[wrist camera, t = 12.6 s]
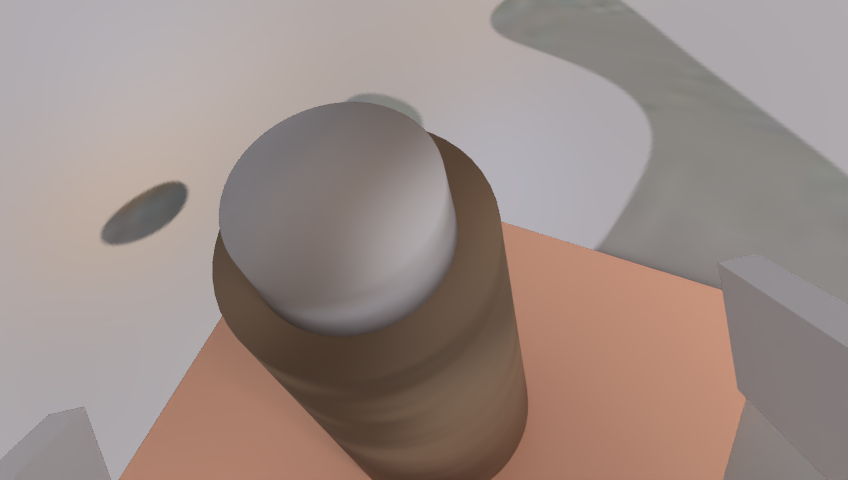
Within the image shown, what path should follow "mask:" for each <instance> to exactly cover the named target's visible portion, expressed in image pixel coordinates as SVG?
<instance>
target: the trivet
mask: <svg viewBox="0 0 848 480" xmlns="http://www.w3.org/2000/svg"><path fill="white" fill-rule="evenodd" d="M501 225H502V232H503V238H504V245H505V251H506V257H507V264H508V270H509V277H510V283H511V290H512V296H513V303H514V309H515V315H516V322H517V328H518V335H519V341H520V348H521V354H522V360H523V367H524V373H525V380H526V386H527V394H528V416H527V421H526V427H525V430H524V433H523V436H522V439H521V441H520V443H519V445H518V447H517V449H516V451H515V453H514V454H513V456H512V457H511V459H510V460H509V462H508V463H507V464H506V465H505V466H504V468H503V469H502V470H501V471H500V472H499V473H498V474H497V475H496V476H494V477H493V478H492V479H491V480H723V477H724V473H725V470H726V466H727V463H728V460H729V456H730V453H731V449H732V446H733V442H734V439H735V435H736V432H737V428H738V425H739V421H740V418H741V414H742V411H743V407H744V404H745V400H746V397H745V396H744V395H743V394H742V393H741V392H740V391H739V390H738V388H737V382H736V376H735V369H734V363H733V356H732V350H731V344H730V337H729V331H728V324H727V318H726V311H725V305H724V299H723V292H722V290H720V289H717V288H714V287H710V286H707V285H704V284H701V283H697V282H694V281H691V280H688V279H684V278H681V277H678V276H675V275H672V274H668V273H665V272H662V271H659V270H655V269H652V268H649V267H646V266H643V265H639V264H636V263H633V262H630V261H626V260H623V259H620V258H617V257H614V256H610V255H607V254H604V253H601V252H597V251H594V250H591V249H588V248H584V247H581V246H578V245H575V244H571V243H568V242H565V241H562V240H559V239H555V238H552V237H549V236H545V235H543V234H539V233H536V232H533V231H530V230H526V229H523V228H520V227H517V226H514V225H510V224H507V223H504V222H501ZM119 480H372V479H371V478H370V477H369V476H368V475H367V474H366V473H365V472H364V471H363V470H362V469H361V468H360V467H359V466H358V465H357V464H356V462H355V461H354V460H353V459H352V458H351V457H350V456H349V455H348V454H347V453H346V452H345V451H344V450H343V449H342V448H341V447H340V446H339V445H338V444H337V443H336V442H335V441H334V439H333V438H332V437H331V436H330V435H329V434H328V433H327V432H326V431H325V430H324V429H323V428H322V427H321V426H320V425H319V424H318V423H317V422H316V421H315V420H314V419H313V417H312V416H311V415H310V414H309V413H308V412H307V411H306V410H305V409H304V408H303V407H302V406H301V405H300V404H299V403H298V402H297V401H296V400H295V399H294V398H293V397H292V395H291V394H290V393H289V392H288V391H287V390H286V389H285V388H284V387H283V386H282V385H281V384H280V383H279V382H278V381H277V380H276V379H275V378H274V377H273V376H272V375H271V374H270V372H269V371H268V370H267V369H266V368H265V367H264V366H263V365H262V364H261V363H260V362H259V361H258V360H257V359H256V358H255V357H254V356H253V355H252V354H251V353H250V352H249V350H248V349H247V348H246V347H245V346H244V345H243V344H242V343H241V342H240V341H239V340H238V339H237V338H236V336H235V335H234V334H233V332H232V331H231V329H230V328H229V327H228V325H227V323H226V321H225V319H224V317H223V316H222V317H221V319H220V321H219V322H218V324H217V325H216V327H215V329H214V330H213V332H212V333H211V335H210V336H209V338H208V340H207V341H206V343H205V344H204V346H203V348H202V349H201V351H200V352H199V354H198V355H197V357H196V359H195V360H194V362H193V363H192V365H191V367H190V368H189V370H188V371H187V373H186V374H185V376H184V378H183V379H182V381H181V382H180V384H179V385H178V387H177V389H176V390H175V392H174V393H173V395H172V397H171V398H170V400H169V402H168V403H167V404H166V406H165V408H164V409H163V411H162V412H161V414H160V416H159V417H158V419H157V420H156V422H155V424H154V425H153V427H152V428H151V430H150V432H149V433H148V435H147V436H146V438H145V439H144V441H143V442H142V444H141V446H140V447H139V449H138V450H137V452H136V454H135V455H134V457H133V458H132V460H131V462H130V463H129V465H128V466H127V468H126V469H125V471H124V473H123V474H122V476H121V477H120V479H119Z"/></svg>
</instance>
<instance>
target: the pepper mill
mask: <svg viewBox="0 0 848 480" xmlns="http://www.w3.org/2000/svg"><path fill="white" fill-rule="evenodd" d="M219 225H220V230H219V234H218V237H217V241H216V244H215V250H214V256H213V284H214V290H215V296H216V299H217V303H218V306H219V309H220V311H221V313H222V315H223V317H224V319H225V321H226V323H227V325H228V327H229V328H230V329H231V331H232V332H233V334H234V335H235V336H236V338H237V339H238V340H239V341H240V342H241V343H242V344H243V345H244V346H245V347H246V348H247V349H248V350H249V352H250V353H251V354H252V355H253V356H254V357H255V358H256V359H257V360H258V361H259V362H260V363H261V364H262V365H263V366H264V367H265V368H266V369H267V370H268V371H269V372H270V374H271V375H272V376H273V377H274V378H275V379H276V380H277V381H278V382H279V383H280V384H281V385H282V386H283V387H284V388H285V389H286V390H287V391H288V392H289V393H290V394H291V395H292V397H293V398H294V399H295V400H296V401H297V402H298V403H299V404H300V405H301V406H302V407H303V408H304V409H305V410H306V411H307V412H308V413H309V414H310V415H311V416H312V417H313V419H314V420H315V421H316V422H317V423H318V424H319V425H320V426H321V427H322V428H323V429H324V430H325V431H326V432H327V433H328V434H329V435H330V436H331V437H332V438H333V439H334V441H335V442H336V443H337V444H338V445H339V446H340V447H341V448H342V449H343V450H344V451H345V452H346V453H347V454H348V455H349V456H350V457H351V458H352V459H353V460H354V461H355V462H356V464H357V465H358V466H359V467H360V468H361V469H362V470H363V471H364V472H365V473H366V474H367V475H368V476H369V477H370V478H371V479H372V480H491V479H492V478H493V477H494V476H496V475H497V474H498V473H499V472H500V471H501V470H502V469H503V468H504V466H505V465H506V464H507V463H508V462H509V460H510V459H511V457H512V456H513V454H514V453H515V451H516V449H517V447H518V445H519V443H520V441H521V439H522V436H523V433H524V430H525V427H526V421H527V416H528V394H527V386H526V380H525V373H524V367H523V360H522V354H521V348H520V341H519V335H518V328H517V322H516V315H515V309H514V303H513V296H512V290H511V283H510V277H509V270H508V264H507V257H506V251H505V245H504V238H503V232H502V225H501V219H500V214H499V209H498V206H497V201H496V198H495V196H494V193H493V191H492V189H491V186H490V184H489V183H488V181H487V179H486V178H485V176H484V175H483V173H482V171H481V170H480V169H479V168H478V166H476V164H475V163H474V162H473V161H472V159H470V158H469V157H468V156H467V155H466V154H465V153H464V152H462V151H461V150H460V149H459V148H457V147H456V146H454V145H453V144H451V143H449V142H448V141H447V140H445V139H443V138H440V137H438V136H436V135H434V134H432V133H429V132H426V131H425V129H423V128H422V127H421V126H420V125H419V124H418V123H417V122H416V121H414V120H412V119H411V118H409V117H408V116H406V115H405V114H403V113H400V112H398V111H396V110H394V109H391V108H388V107H385V106H382V105H376V104H371V103H362V102H342V103H334V104H328V105H323V106H319V107H315V108H312V109H309V110H306V111H303V112H300V113H298V114H296V115H293V116H291V117H289V118H287V119H286V120H284V121H282V122H280V123H278V124H277V125H275V126H274V127H273V128H271V129H269V130H268V131H267V132H265V133H264V134H263V135H262V136H260V137H259V138H258V139H257V140H256V141H255V142H254V143H253V144H252V145H251V146H250V147H249V148H248V149H247V150H246V151H245V152H244V154H243V155H242V156H241V158H240V159H239V160H238V161H237V163H236V165H235V166H234V168H233V170H232V171H231V173H230V175H229V177H228V180H227V182H226V184H225V186H224V190H223V193H222V196H221V201H220V208H219Z"/></svg>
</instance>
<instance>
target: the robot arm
mask: <svg viewBox="0 0 848 480" xmlns="http://www.w3.org/2000/svg"><path fill="white" fill-rule="evenodd" d="M718 267H719V273H720V279H721V286H722V292H723V299H724V305H725V311H726V318H727V324H728V331H729V337H730V344H731V350H732V356H733V363H734V369H735V376H736V382H737V388H738V390H739V391H740V392H741V393H742V394H743V395H744V396H745V397H746V398H747V399H748V400H749V401H750V402H751V403H752V404H753V405H754V406H755V407H756V408H757V409H758V410H759V411H760V412H761V413H762V414H763V415H764V416H765V417H766V418H767V420H768V421H769V422H770V423H771V424H772V425H773V426H774V427H775V428H776V429H777V430H778V431H779V432H780V433H781V434H782V435H783V436H784V437H785V438H786V439H787V440H788V441H789V442H790V443H791V444H792V445H793V446H794V447H795V448H796V449H797V450H798V451H799V452H800V453H801V454H802V455H803V456H804V457H805V458H806V459H807V460H808V461H809V462H810V463H811V464H812V465H813V466H814V467H815V468H816V469H817V470H818V471H819V472H820V473H821V474H822V475H823V476H824V477H825V478H826V479H827V480H848V304H846V303H845V302H843V301H841V300H839V299H837V298H836V297H834V296H832V295H830V294H828V293H827V292H825V291H823V290H821V289H819V288H818V287H816V286H814V285H812V284H810V283H809V282H807V281H805V280H803V279H801V278H799V277H798V276H796V275H794V274H792V273H790V272H789V271H787V270H785V269H783V268H781V267H780V266H778V265H776V264H774V263H772V262H771V261H769V260H767V259H765V258H763V257H761V256H760V255H758V254H753V255H749V256H744V257H740V258H736V259H731V260H727V261H722V262H718ZM0 480H111V478H110V475H109V473H108V470H107V467H106V465H105V462H104V459H103V457H102V454H101V451H100V448H99V446H98V443H97V440H96V437H95V435H94V432H93V429H92V426H91V424H90V421H89V418H88V416H87V413H86V410H85V407H80V408H76V409H72V410H67V411H63V412H59V413H54V414H50V415H48V416H47V417H46V418H45V419H44V420H43V421H42V422H40V423H39V424H38V425H37V426H36V427H35V428H34V429H33V430H32V431H31V432H30V433H29V434H28V435H26V436H25V437H24V438H23V439H22V440H21V441H20V442H19V443H18V444H17V445H16V446H15V447H14V448H13V449H12V450H10V451H9V452H8V453H7V454H6V455H5V456H4V457H3V458H2V459H1V460H0Z"/></svg>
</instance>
